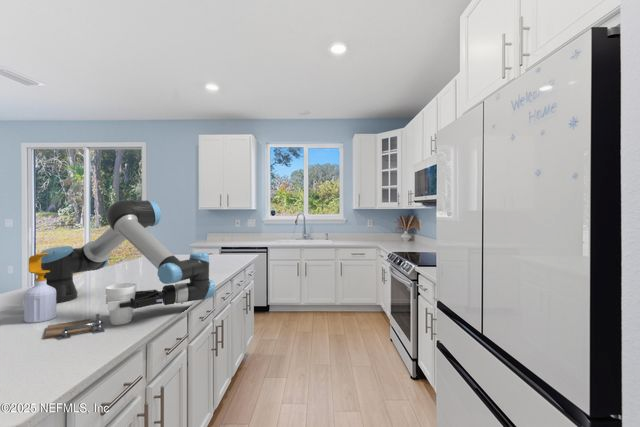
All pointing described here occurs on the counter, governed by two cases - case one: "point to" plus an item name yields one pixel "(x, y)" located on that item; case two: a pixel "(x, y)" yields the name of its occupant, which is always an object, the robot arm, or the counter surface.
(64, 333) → the rail
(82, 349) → the counter surface
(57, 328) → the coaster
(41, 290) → the soap bottle
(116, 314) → the foam cup
